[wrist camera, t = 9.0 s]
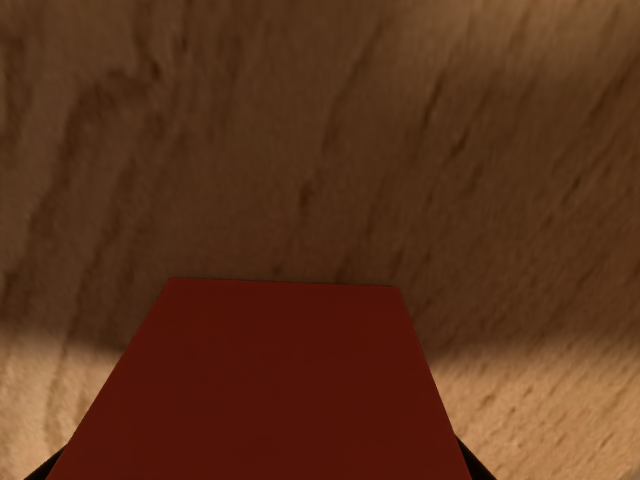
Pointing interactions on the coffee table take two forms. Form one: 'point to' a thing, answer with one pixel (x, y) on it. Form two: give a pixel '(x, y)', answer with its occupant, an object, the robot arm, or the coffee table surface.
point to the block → (268, 391)
